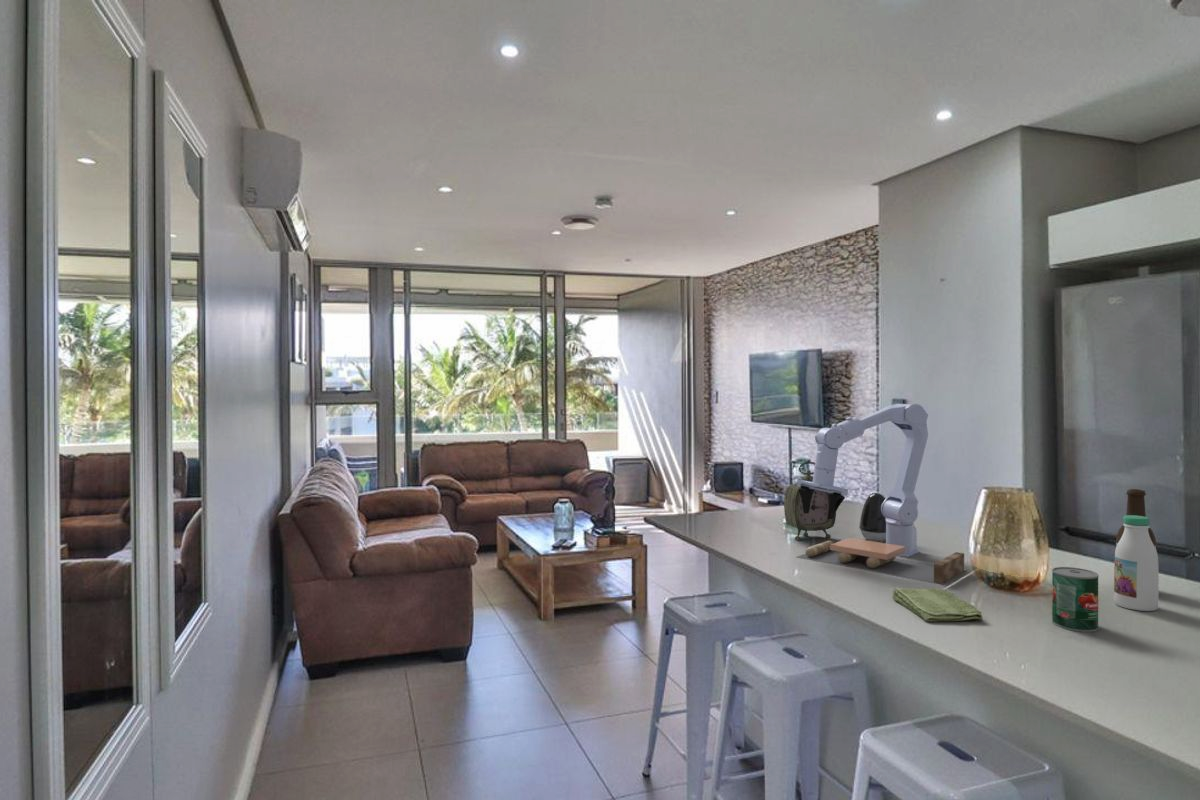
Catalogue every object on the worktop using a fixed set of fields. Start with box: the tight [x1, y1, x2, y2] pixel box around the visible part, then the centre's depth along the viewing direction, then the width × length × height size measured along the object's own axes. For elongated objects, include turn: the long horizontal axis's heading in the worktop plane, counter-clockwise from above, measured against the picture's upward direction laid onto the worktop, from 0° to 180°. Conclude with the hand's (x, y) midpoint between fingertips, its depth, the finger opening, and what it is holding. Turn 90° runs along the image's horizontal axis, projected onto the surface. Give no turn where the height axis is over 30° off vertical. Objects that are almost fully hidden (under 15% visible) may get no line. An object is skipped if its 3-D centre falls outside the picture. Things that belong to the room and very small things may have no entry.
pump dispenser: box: [858, 492, 886, 543], centre depth 218 cm, size 10×10×15 cm
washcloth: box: [892, 587, 983, 623], centre depth 152 cm, size 13×18×3 cm
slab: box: [830, 537, 905, 560], centre depth 191 cm, size 12×16×2 cm
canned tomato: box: [1051, 566, 1099, 633], centre depth 141 cm, size 8×8×11 cm
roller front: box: [866, 556, 897, 569], centre depth 188 cm, size 14×3×3 cm, turn 135°
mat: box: [796, 550, 968, 586], centre depth 189 cm, size 18×40×1 cm, turn 45°
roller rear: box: [838, 552, 862, 563], centre depth 193 cm, size 14×3×3 cm, turn 135°
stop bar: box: [933, 551, 965, 583], centre depth 176 cm, size 16×2×5 cm, turn 135°
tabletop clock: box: [783, 461, 837, 541], centre depth 222 cm, size 14×9×25 cm, turn 102°
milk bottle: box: [1113, 515, 1160, 612], centre depth 152 cm, size 8×8×20 cm
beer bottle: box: [1115, 488, 1157, 549], centre depth 164 cm, size 8×8×24 cm
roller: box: [804, 539, 835, 557], centre depth 201 cm, size 13×3×3 cm, turn 135°
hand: (818, 516), depth 197 cm, fingers open, 7 cm apart
